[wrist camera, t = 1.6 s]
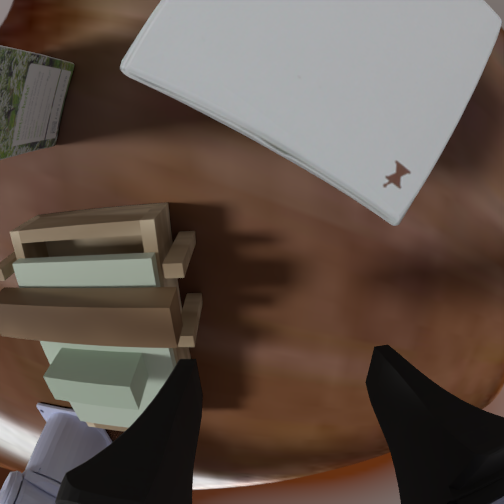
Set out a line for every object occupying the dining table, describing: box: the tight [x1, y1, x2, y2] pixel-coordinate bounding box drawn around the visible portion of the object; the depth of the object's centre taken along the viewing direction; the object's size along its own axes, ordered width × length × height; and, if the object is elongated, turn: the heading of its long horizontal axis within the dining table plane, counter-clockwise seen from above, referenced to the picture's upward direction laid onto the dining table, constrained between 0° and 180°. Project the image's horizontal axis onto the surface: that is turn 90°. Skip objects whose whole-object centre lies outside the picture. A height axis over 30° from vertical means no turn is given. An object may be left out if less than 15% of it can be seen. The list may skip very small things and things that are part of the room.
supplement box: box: [120, 0, 502, 226], centre depth 11 cm, size 7×7×13 cm
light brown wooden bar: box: [0, 287, 183, 348], centre depth 16 cm, size 2×12×2 cm, turn 92°
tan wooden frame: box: [0, 203, 203, 431], centre depth 20 cm, size 18×13×5 cm
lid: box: [12, 252, 176, 428], centre depth 18 cm, size 14×10×4 cm, turn 2°
